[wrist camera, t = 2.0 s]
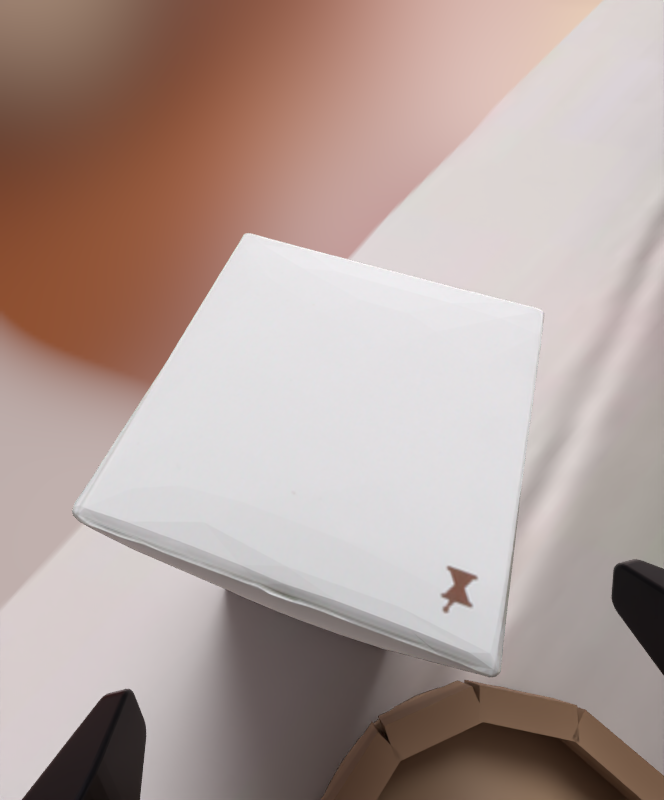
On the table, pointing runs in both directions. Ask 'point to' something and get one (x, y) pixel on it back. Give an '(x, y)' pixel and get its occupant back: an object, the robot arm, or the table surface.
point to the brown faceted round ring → (491, 752)
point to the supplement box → (337, 451)
